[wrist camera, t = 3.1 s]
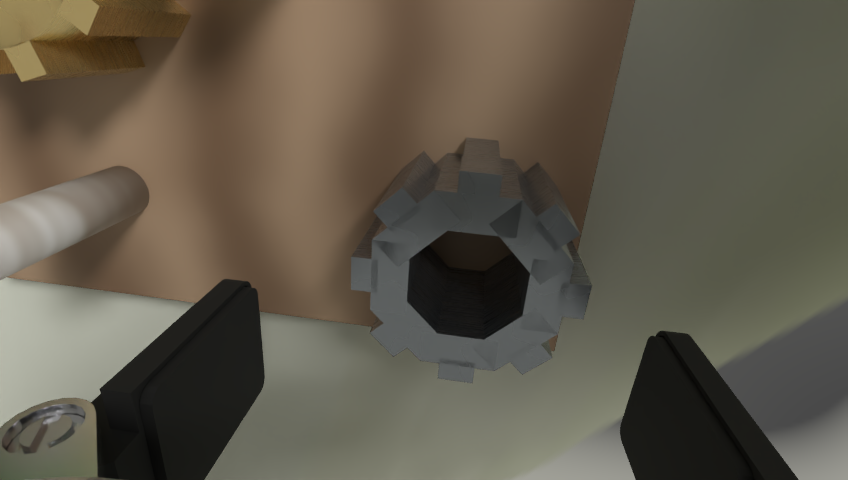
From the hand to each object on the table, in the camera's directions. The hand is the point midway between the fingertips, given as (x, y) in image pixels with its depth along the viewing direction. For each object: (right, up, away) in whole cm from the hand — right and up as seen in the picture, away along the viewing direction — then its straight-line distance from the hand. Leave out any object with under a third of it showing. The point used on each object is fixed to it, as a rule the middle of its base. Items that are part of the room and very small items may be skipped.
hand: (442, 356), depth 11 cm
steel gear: (+1, +3, +6) cm, 7 cm away
